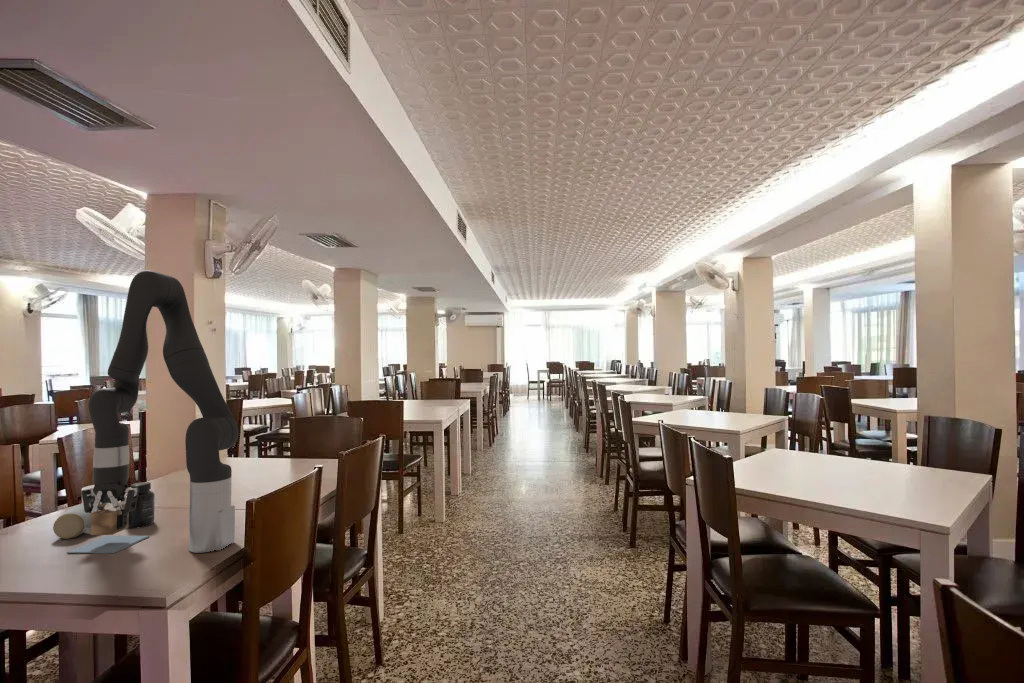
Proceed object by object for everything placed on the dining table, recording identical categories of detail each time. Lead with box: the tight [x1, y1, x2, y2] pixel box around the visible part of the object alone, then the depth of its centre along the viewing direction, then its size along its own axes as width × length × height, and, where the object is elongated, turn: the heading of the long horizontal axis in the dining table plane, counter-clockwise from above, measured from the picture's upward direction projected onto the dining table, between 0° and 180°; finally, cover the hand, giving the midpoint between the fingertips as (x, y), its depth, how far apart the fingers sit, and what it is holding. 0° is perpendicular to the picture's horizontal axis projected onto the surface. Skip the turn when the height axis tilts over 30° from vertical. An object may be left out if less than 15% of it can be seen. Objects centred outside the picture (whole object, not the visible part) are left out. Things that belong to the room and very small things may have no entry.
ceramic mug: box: [52, 503, 91, 540], centre depth 142 cm, size 11×8×8 cm
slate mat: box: [66, 535, 150, 554], centre depth 133 cm, size 12×12×1 cm
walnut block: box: [90, 507, 129, 536], centre depth 133 cm, size 6×6×6 cm
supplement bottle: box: [126, 481, 156, 529], centre depth 150 cm, size 7×7×12 cm
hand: (109, 528), depth 133 cm, fingers closed on walnut block, 5 cm apart
